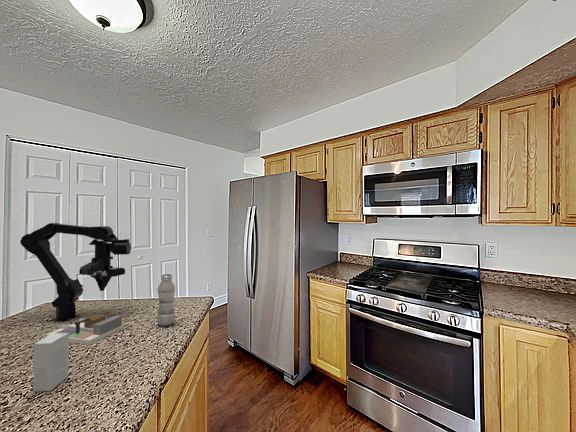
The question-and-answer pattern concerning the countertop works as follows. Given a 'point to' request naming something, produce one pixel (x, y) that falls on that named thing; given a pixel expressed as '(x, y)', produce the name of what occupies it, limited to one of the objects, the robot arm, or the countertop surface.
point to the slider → (90, 321)
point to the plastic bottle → (166, 301)
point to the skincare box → (50, 361)
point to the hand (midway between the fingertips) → (102, 290)
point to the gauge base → (92, 330)
